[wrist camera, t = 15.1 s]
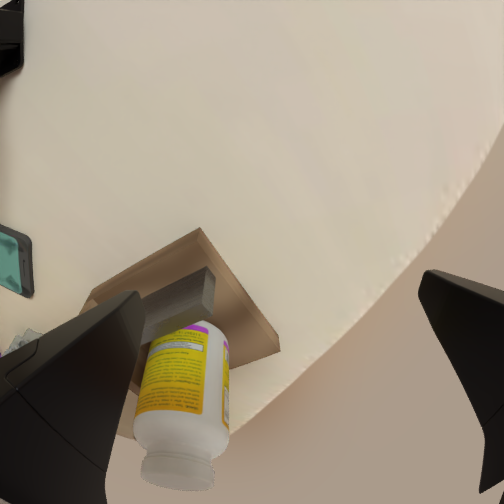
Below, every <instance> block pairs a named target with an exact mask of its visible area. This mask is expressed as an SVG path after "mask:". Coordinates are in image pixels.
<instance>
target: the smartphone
mask: <svg viewBox="0 0 504 504" xmlns="http://www.w3.org/2000/svg"><path fill="white" fill-rule="evenodd" d="M0 285H2V286H3V287H5V288H7V289H9V290H11V291H14V292H16V293H18V294H20V295H22V296H24V297H26V298H30V297H31V296H32V295H33V293H34V281H33V264H32V242H31V239H30V238H29V237H28V236H27V235H25V234H22V233H20V232H18V231H15V230H13V229H10V228H8V227H6V226H3V225H1V224H0Z"/></svg>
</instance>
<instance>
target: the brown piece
mask: <svg viewBox="0 0 504 504" xmlns="http://www.w3.org/2000/svg"><path fill="white" fill-rule="evenodd" d="M205 266H207V267H208V268H209V269H210V271H211V272H212V273H213V274H214V276H215V277H216V283H215V294H214V305H213V316H211V317H209V318H206V319H204V321H206V322H209V323H211V324H212V325H214V326H215V327H217V328H218V329H219V330H220V331H221V332H222V333H223V334H224V335H225V337H226V339H227V341H228V345H229V370H230V369H233V368H236V367H239V366H242V365H245V364H248V363H250V362H253V361H256V360H259V359H261V358H264V357H267V356H270V355H272V354H275V353H277V352H280V344H279V337H278V334H277V333H276V332H275V330H274V329H273V328H272V326H271V325H270V324H269V322H268V321H267V320H266V318H265V317H264V315H263V314H262V313H261V311H260V310H259V309H258V307H257V306H256V305H255V303H254V302H253V301H252V299H251V298H250V296H249V295H248V294H247V292H246V291H245V290H244V288H243V287H242V285H241V284H240V283H239V281H238V280H237V279H236V277H235V276H234V274H233V273H232V272H231V270H230V269H229V267H228V266H227V265H226V263H225V262H224V260H223V259H222V258H221V256H220V255H219V253H218V252H217V251H216V249H215V248H214V246H213V245H212V244H211V242H210V241H209V239H208V238H207V237H206V235H205V234H204V232H203V231H202V229H201V228H198V229H196V230H194V231H192V232H191V233H189V234H187V235H185V236H183V237H182V238H180V239H178V240H176V241H174V242H173V243H171V244H169V245H167V246H166V247H164V248H162V249H160V250H159V251H157V252H155V253H153V254H152V255H150V256H148V257H146V258H145V259H143V260H141V261H139V262H138V263H136V264H134V265H133V266H131V267H129V268H127V269H126V270H124V271H122V272H121V273H119V274H117V275H116V276H114V277H112V278H111V279H109V280H107V281H106V282H104V283H102V284H101V285H99V286H97V287H96V288H94V289H92V291H91V293H90V295H89V297H88V299H87V300H86V302H85V304H84V306H83V308H82V310H81V312H80V313H79V315H80V314H82V313H84V312H86V311H88V310H90V309H91V308H93V307H95V306H97V305H99V304H101V303H103V302H104V301H106V300H108V299H110V298H112V297H114V296H116V295H117V294H119V293H121V292H123V291H125V290H137V291H138V292H139V294H140V297H141V298H143V297H145V296H147V295H149V294H151V293H153V292H155V291H157V290H159V289H161V288H163V287H165V286H167V285H169V284H171V283H173V282H175V281H177V280H179V279H181V278H183V277H185V276H187V275H189V274H191V273H193V272H195V271H197V270H199V269H201V268H203V267H205ZM79 315H78V316H79ZM150 344H151V341H150V342H148V343H145V344H143V345H140V351H139V355H138V359H137V362H136V365H135V369H134V372H133V375H132V378H131V382H130V385H129V388H128V389H130V390H131V391H132V392H134V393H135V394H136V395H138V396H139V393H140V389H141V383H142V379H143V375H144V370H145V366H146V361H147V357H148V353H149V348H150Z"/></svg>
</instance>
